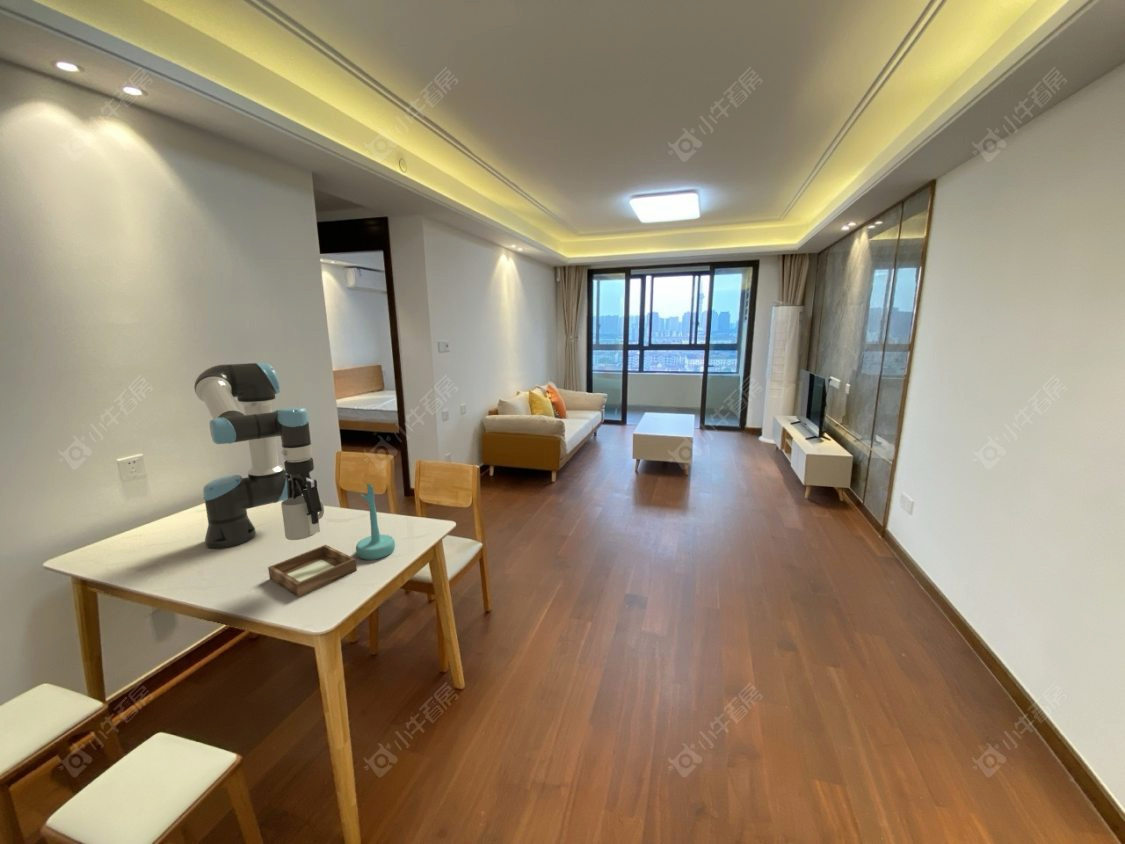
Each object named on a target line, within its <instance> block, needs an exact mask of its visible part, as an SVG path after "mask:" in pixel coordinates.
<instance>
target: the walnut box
mask: <svg viewBox="0 0 1125 844" xmlns="http://www.w3.org/2000/svg"><path fill="white" fill-rule="evenodd" d="M267 569H268V570H267V571H268V577H269V580H271V581H272V582H273V583H276V584H278V585H279V586H280V587H282V588H283V589H285V590H286V591H288V592H290V593H292V594H293V595H294V596H296V597H297V598H301V597H303V596H304V595H306V594H307V595H308V594H310V593H312V592H314V591H315V590H318V589H320V588H322V587H324V586H326V585H329V584H331V583H333V582H335V581H338V580H339V579H342V578H343V577H346V576H348V575H350V574H352V573H355V572H356V571H357V559H356V558H355V557H352V556H351V555H348V554H346V553H344V552H341V550H340V551H339V550H338V549H335V548H334V547H331V546H330V545H327V544H324V545H321V546H319V547H316V548H314V549H311V550H308V551H306V552H304V553H300V554H298V555H296V556H293V557H290V558H289V559H285V560H283V561H281V562H278V563H275V564H272V565H271V566H268V567H267ZM357 572H358V571H357Z"/></svg>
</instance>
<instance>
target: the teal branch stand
mask: <svg viewBox="0 0 1125 844" xmlns="http://www.w3.org/2000/svg"><path fill="white" fill-rule="evenodd" d="M366 487H367V489H366V490H367V494H366V495H364V494H362V493H360V494H359V495H360V496H361V497H362V498H363V500H365V501H366V502H368V505H369V519H370V533H371V534H370V535H369V536H366V537H365V538H362V539H360V540H359V541H357V543H356V546H355V552H356V555H357V557H358V558H360V559H362V560H366V561H371V560H372V561H373V560H379V559H383V558H385V557H387V556H389V555H391V554H392V553H393V552H394V550H395V547H396V546H395V545H396V542H395V539H394V538H393V536H391V535H389V534H380V529H379V526H378V525H379V524H378V515H377V509H376V504H375V491H374V487H373V486H372V484H370V483H366Z"/></svg>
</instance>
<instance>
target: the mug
mask: <svg viewBox="0 0 1125 844" xmlns="http://www.w3.org/2000/svg"><path fill="white" fill-rule="evenodd" d="M320 503H321V508H322V511H320V512H318V518H319V520H321V519H322V518H323V517H324V515H325V514H324V513H325V506H324V503H323V501H322V499H320ZM280 508H281V512H282V513H281V514H282V519H283V520H282V521H283V528H284V536H285V538H286V539H287V540H289V541H299V540H304V539H307V538H311V537H313V536H315V534H317V533H315V534H312V535H310V531H309V523H308V515H307V513H309V512H308V509H307V503H306V502H305V500H304V497H303V495H302V496H298V497H296V498H295V499H293V497H292V498H289V499H288V498H287V499H286V500H283V501H281V507H280Z"/></svg>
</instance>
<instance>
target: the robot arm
mask: <svg viewBox="0 0 1125 844" xmlns="http://www.w3.org/2000/svg"><path fill="white" fill-rule="evenodd" d="M280 389H281V385H280V381H279V378H278V375H277V372H276V370H275V369H274V367H273V366H272V365H271V364H269V363H267V362H266V363H265V362H249V363H235V364H234V363H233V364H232V363H231V364H218V365H214V366H211V367H209V368H207V369H206V370H203V372H201V373H200V374H199V375H198V377H196V379H195V381H194V392H195V394H196V396H197V398H198V399H199V400H201V401H202V402H204V403H205V405H206V407H207V410H208V411H209V413H210V416H211V417H212V419H211V420H210V421H209V431H210V435H211V438H212V439H211V440H212V441H213V443H215V444H216V445H222V444H223V445H224V444H225V445H227V444H234V443H240V442H247V441H248V447H249V448H248V449H249V454H250V461H251V468H250V469H249V470H248V471H247V475H248V477H244V478H243V477H242V476H241V475H240V474H233V475H226V476H223V477H219V478H216V479H214V480H211V481H209V482H208V483H207V484H205V485H204V487H203V498H202V499H203V501H204V505H205V510H206V517H207V523H208V524H207V529H206V534H205V539H204V543H205V546H206V548H209V549H215V550H216V549H225V548H231V547H235V546H238V545H239V546H240V545H242V544H244V543H247V542H249V541H251V540H252V539H254V538H255V536H257V531H256V528H255V526H254V524H253V523H252V521H251V519H250V518H249V516H248V512H247V511H248V509H252V508H259V507H262V506H266V505H271V504H276V503H279V502H283V501H284V500H286V499H289V498H292V497H293V499H295V498H296V497H298V496H303V497H304V500H305V502H306V503H307V509H308V512H309V513H307V515H308V523H309V531H310V535H312V534H314V535H315V533H316V534H317V533H320V532H321V526H320V519H319V518H318V514H319V512H320V511H322V508H321V503H320V500H321V499H320V495H319V491H318V481H317V479H316V478H315V479H312V478H311V475H310V473H311V472H312V471H314V469H315V465H314V464H315V463H314V458H312V457H313V456H314V455H313V446H312V440H311V433H310V431H311V430H310V425H309V423H310V422H309V421H310V418H309V415H308V410H307V409H306V408H305V407H300V406H294V407H293V406H292V407H283V408H281V409H277V410H274V411H273V407H272V403H273V402H274V401H275V400H276V395H278V394H279V393H280V391H281V390H280ZM236 398H237V400H236ZM238 403H239V404H238ZM240 404H241V405H242V406H243V409H244V410H242V408H241V407H240V406H239V405H240ZM243 411H244V412H243ZM276 437H280V439H281V447H282V448H281V449H282V451H281V454H282V456H283V460H284V463H283V464H284V466H283V465H281V464H280V463H279V455H278V446H277V440H276V439H277V438H276Z"/></svg>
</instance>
